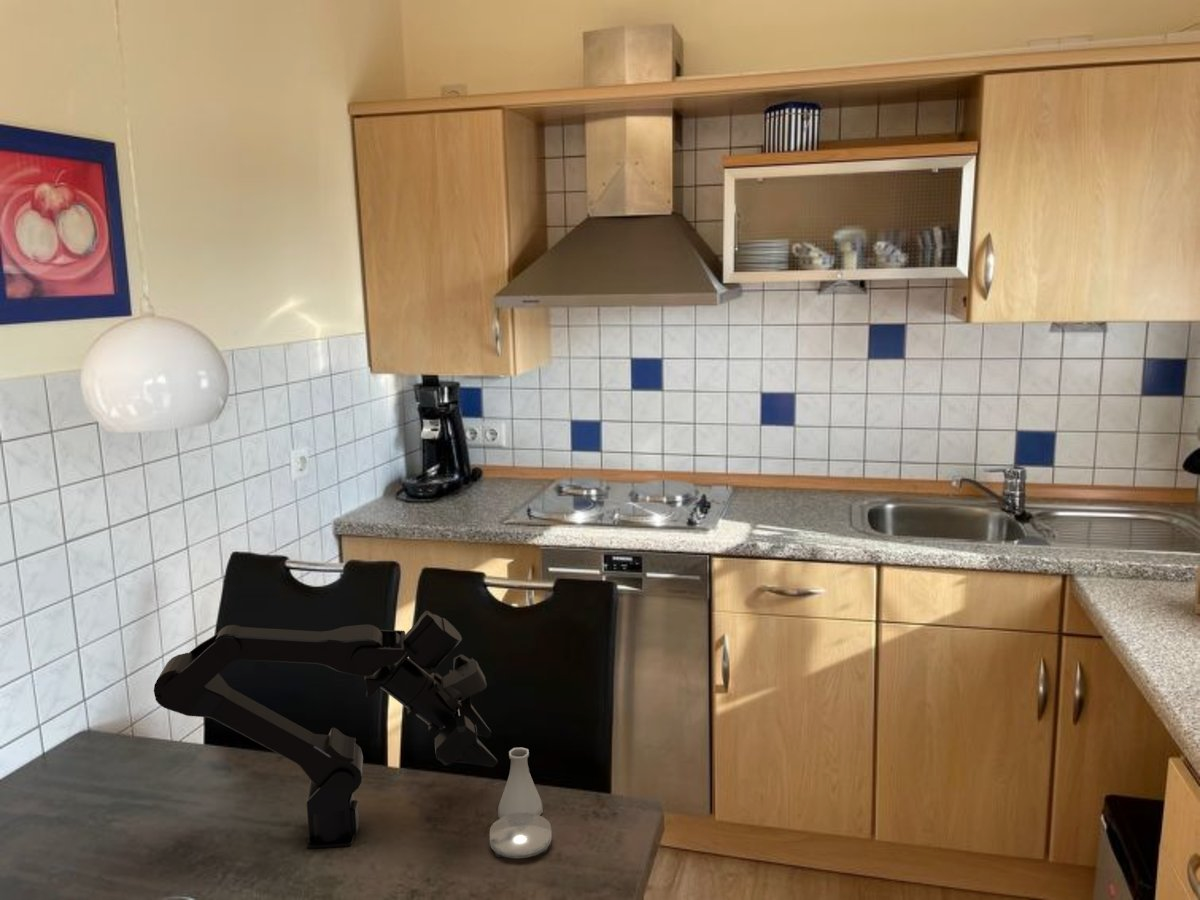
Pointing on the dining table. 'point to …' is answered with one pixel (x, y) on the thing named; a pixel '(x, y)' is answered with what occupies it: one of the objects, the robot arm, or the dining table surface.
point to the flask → (519, 787)
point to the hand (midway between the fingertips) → (492, 749)
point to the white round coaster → (520, 835)
